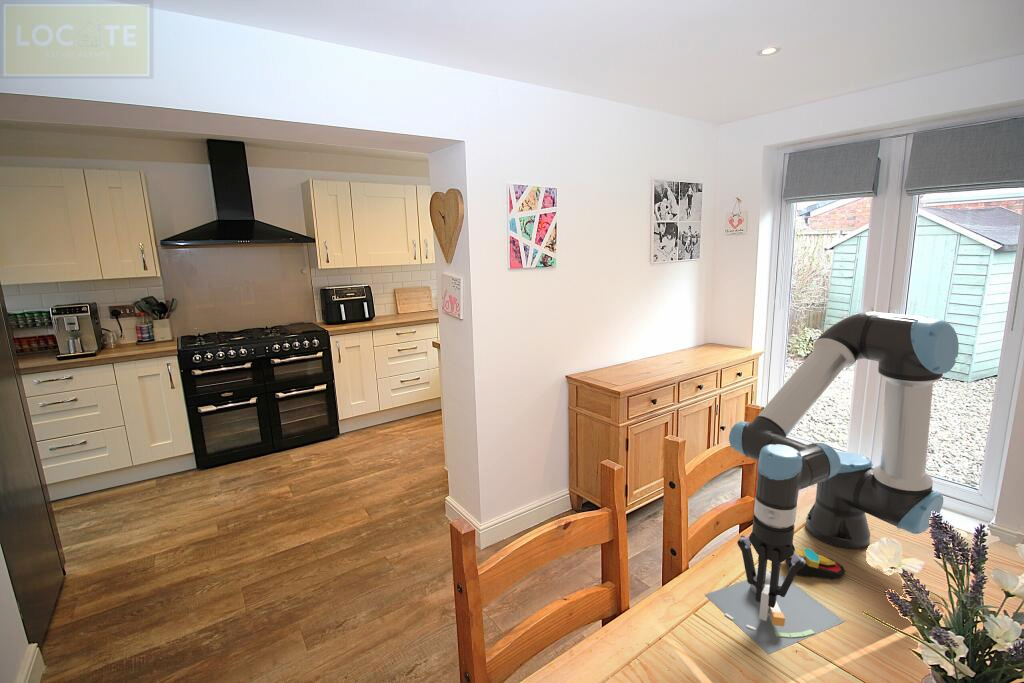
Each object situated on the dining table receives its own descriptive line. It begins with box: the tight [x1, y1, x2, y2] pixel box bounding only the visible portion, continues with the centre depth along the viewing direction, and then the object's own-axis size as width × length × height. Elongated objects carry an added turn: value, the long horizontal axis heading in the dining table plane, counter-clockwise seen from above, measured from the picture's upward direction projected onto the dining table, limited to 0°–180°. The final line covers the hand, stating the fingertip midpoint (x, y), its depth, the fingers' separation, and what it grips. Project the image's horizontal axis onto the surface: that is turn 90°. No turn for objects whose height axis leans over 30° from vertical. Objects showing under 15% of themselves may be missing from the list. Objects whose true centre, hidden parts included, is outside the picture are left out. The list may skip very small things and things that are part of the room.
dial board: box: [704, 570, 846, 655], centre depth 110 cm, size 22×18×1 cm
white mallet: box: [750, 567, 785, 626], centre depth 110 cm, size 15×4×4 cm, turn 168°
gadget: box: [785, 546, 846, 580], centre depth 121 cm, size 6×13×6 cm, turn 74°
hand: (764, 615), depth 106 cm, fingers closed
